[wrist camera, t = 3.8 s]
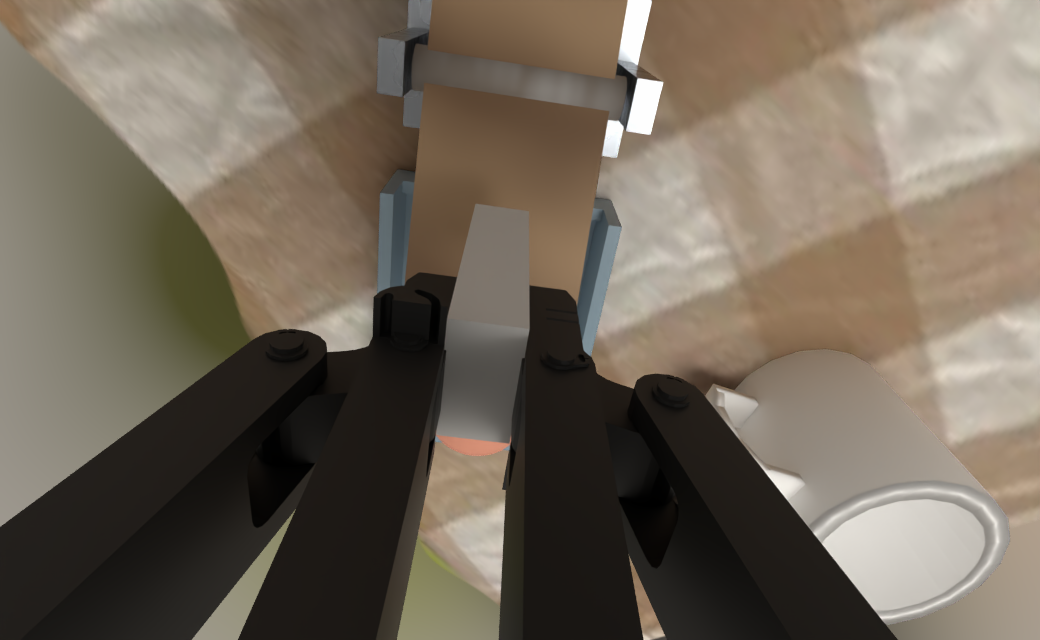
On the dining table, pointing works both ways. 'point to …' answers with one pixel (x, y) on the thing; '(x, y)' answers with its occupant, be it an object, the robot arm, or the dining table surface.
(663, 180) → the dining table surface
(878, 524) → the mug
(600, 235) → the tray
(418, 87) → the lever
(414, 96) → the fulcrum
